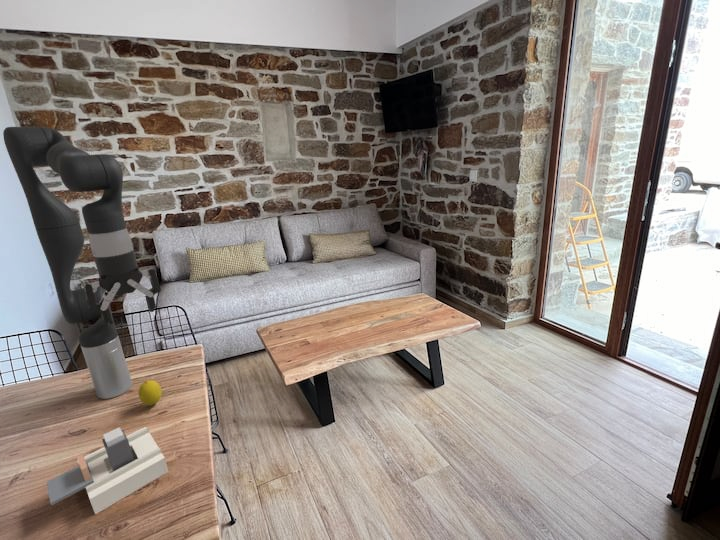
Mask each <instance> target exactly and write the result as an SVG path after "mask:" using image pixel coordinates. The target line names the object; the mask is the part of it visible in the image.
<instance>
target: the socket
mask: <svg viewBox="0 0 720 540" xmlns="http://www.w3.org/2000/svg"><path fill="white" fill-rule="evenodd" d="M126 437H127V439H128V442H129V445H130V448H131V451H132V455H133V458H134V461H133V462H131V463H129V464H127V465H125V466H123V467H121V468H120V469H118V470H116V471H114V472H113V470H112V467H111V464H110V461H109V458H108V456H107V453H106V450H105V447H104V446H103V447H101V448H99V449H97V450H96V451H93V452H91V453H89V454H87V455H85V456H84V459H85V462H87V463H88V466H89V469H90V472H91V475H92V478H93V481H94V483H92V484H90V485H88V486H86V487H85V490H86V493H87V495H88V499H89V501H90V504H91V507H92V509H93V510H92V511H93V513H94V515H97V514H98V513H100V512H101V511H104V510H106V509H107V508H109V507H110V506H112V505H114V504H115V503H117V502H119V501H121V500H122V499H124V498H126V497H127V496H129V495H131V494H133V493H134V492H136V491H138V490H139V489H141V488H143V487H145V486H146V485H148V484H150V483H151V482H153V481H156V480H157V479H159V477H163V476H164V475H165V474H167V473H168V472H169V468H168V463H167V462H166V461H167V460H166V457H165V456H164V453H162V449H161V447H159V445H158V444H157V443H156V441H155V439H154V438H153V436H152V435H151V433H150V430H149V428H148V427H146V426H144V427H142V428H140V429H138V430H136V431H134V432H132V433H130V434H128V435H126ZM77 464H78V465H77V466H79V461H78V459H77Z"/></svg>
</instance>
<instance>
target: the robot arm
mask: <svg viewBox="0 0 720 540" xmlns="http://www.w3.org/2000/svg"><path fill="white" fill-rule="evenodd" d="M2 134H3V141H4V144H5V149H6V151H7V154H8V156H9V159H10V162H11V163H12V165H13V168H14V170H15V171H14V172H15V173H16V175H17V178H18V180H19V182H20V185H21V188H22V190H23V192H24V195H25V198H26V200H27V204H28V208H29V211H30V214H31V218H32V221H33V225H34V228H35V231H36V234H37V237H38V240H39V243H40V245H41V247H42V251H43V253H44V256H45V259H46V260H47V263H48V264H47V265H48V266H49V269H50V273H51V276H52V279H53V284H54V287H55V290H56V291H55V292H56V295H57V299H58V303H59V306H60V310H61V313H62V316H63V318H64V320H65V322H67V323H68V324H70V325H76V324H81V323H84V322H90V321H92V320H97V319H98V320H97V321H96V322H95V323H94V324H92V325H91V326H89V327H88V328H86V329H84V330H83V331H81V333H79V335H78V342H79V346H80V348H81V351H82V354H83V357H84V360H85V363H86V367H87V369H88V373H89V375H90V378H91V382H92V383H93V388H94V390H95V393H96V396H97V398H99V399H104V400H106V399H107V400H108V399H112V398H116V397H119V396H120V395H123V394H124V393H126V392H127V391H129V390H130V389H131V387H132V385H133V381H132V378H131V374H130V371H129V367H128V365H127V361H126V358H125V353H124V351H123V350H124V349H123V347H122V343H121V341H120V340H121V339H120V337H119V334H118V330H117V327H116V324H115V320H114V317H113V313H112V309H111V302H112V301H113V299H114V297H115V296H116V297H121V296H124V295H125V294H132V293H134V292H135V291H136V290H137V291H138V292H140V293H142V294H143V295H145V296H144V297H145V301H146V305H147V310H148V311H149V312H150V313H153V312H155V309H157V305H156V302H155V301H156V300H155V298H154V297H155V295H156V294H159V293H161V292H162V288H161V284H160V282H159V279H158V275H157V272H156V270H155V269H154V268H153V267H151V266H149V267H147V268H146V269H143V270H140V269H139V265H138V262H137V259H136V254H135V249H134V244H133V242H132V238H131V235H130V233H129V230H128V228H127V224H126V221H125V215H124V212H123V198H122V197H123V194H122V193H123V184H124V183H123V181H124V172H123V168H122V166H121V164H120V162H119V161H118V160H117V159H116V158H115V157H114V156H113V155H110V154H107V153H106V154H105V153H102V154H101V153H99V154H90V153H88V152H86V150H83V149H81V148H79V147H76V146H74V145H73V144H72V143H71V142H70V141H69V140H68V139H67V138H66V137H65V136H64V135H63V134H62V133H61V132H59V131H58V130H57V129H54V128H52V127H47V126H7V127H5V129H3V133H2ZM34 167H50V169H51V170H52V171H54V173H56V174H58V175H59V177H60V180H61V181H62V183H63V185H64V187H65V188H67V189H68V190H69V191H71V192H75V193H86V192H95V191H96V192H97V191H103V194H102V196H101V198H99V199H98V200H96V201H93V202H90V203H86V204H85V205H84V206H82V208H81V212H82V213H81V214H82V218H83V220H84V223H85V227H86V230H87V235H88V239H89V240H88V241H89V246H90V249H91V253H92V257H93V260H94V263H95V264H94V265H95V267H96V270H97V273H98V280H97V281H92V282H89V281H85V282H84V283H83V284H82V286H83V288H77V289H73V290H72V289H71V280H72V275H73V273H74V269H75V266H76V265H77V264H76V263H77V262H78V260H79V257H80V255H81V253H82V251H83V249H84V244H85V236H84V233H83V229H82V226H81V223H80V220H79V217H78V215H77V213H75V212H74V210H72V209H71V208H70V206H68V205H67V204H66V203H64V201H62V200H61V199H59V197H57V196H56V195H55V194H54V193H53V192H51V191H50V190H49V189H48V188H47V187H46V186H45V184H43V182H42V181H41V180H40V178H39V177H38V175H37V173H36V171H35V169H34ZM143 276H145V278H146V279H147V280H148V279H149V282H150V285H151V288H147V287H145V286H144V285H143V284H141V280H142V278H143Z"/></svg>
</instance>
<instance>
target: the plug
mask: <svg viewBox="0 0 720 540" xmlns="http://www.w3.org/2000/svg"><path fill="white" fill-rule="evenodd" d="M102 436H103V438H101V441H102V444H103V447H105V450H106V453H107V456H108V458H109V461H110V464H111V467H112V470H113V472H114V471H116V470H118V469H120V468H121V467H123V466H125V465H127V464H129V463H131V462H133V461H134V458H133V455H132V451H131V448H130V445H129V442H128V439H127V437H126V436H127V435H126V433H125V431H124V429H122V428H121V427H117V428H115V429H113V430H110V431H108V432H106V433H103V435H102Z"/></svg>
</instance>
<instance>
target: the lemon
mask: <svg viewBox="0 0 720 540" xmlns="http://www.w3.org/2000/svg"><path fill="white" fill-rule="evenodd" d="M162 392H163V391H162V388H161V386H160V384H159V383H158V382H157V381H155V380H151V379H150V380H146V381H144V382H143V383H142V384H140V386H139V389H138V398H139V400H140V402H141V403H142V404H143V405H146V406H155V404H157V403H158V402H159V401H160V399H161V397H162V394H163V393H162Z"/></svg>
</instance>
